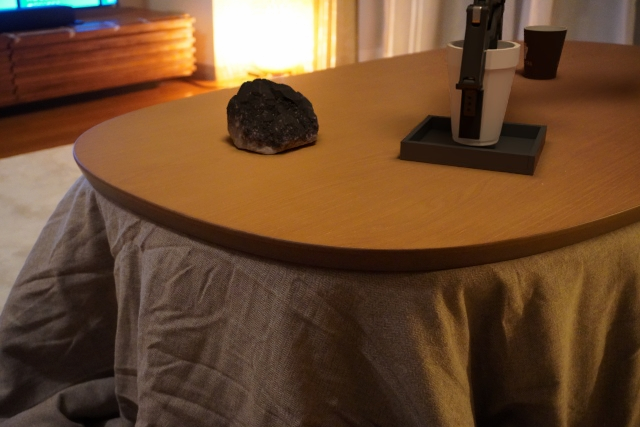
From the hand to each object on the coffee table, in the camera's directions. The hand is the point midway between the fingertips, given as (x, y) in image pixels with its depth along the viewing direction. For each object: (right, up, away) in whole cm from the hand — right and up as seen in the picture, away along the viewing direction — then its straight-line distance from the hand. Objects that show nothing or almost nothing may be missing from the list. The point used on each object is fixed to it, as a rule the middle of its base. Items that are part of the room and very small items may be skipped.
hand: (476, 127), depth 87 cm
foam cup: (0, -2, +1) cm, 2 cm away
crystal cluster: (-29, -1, +7) cm, 30 cm away
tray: (0, -3, +1) cm, 3 cm away
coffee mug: (+26, +18, +47) cm, 56 cm away
